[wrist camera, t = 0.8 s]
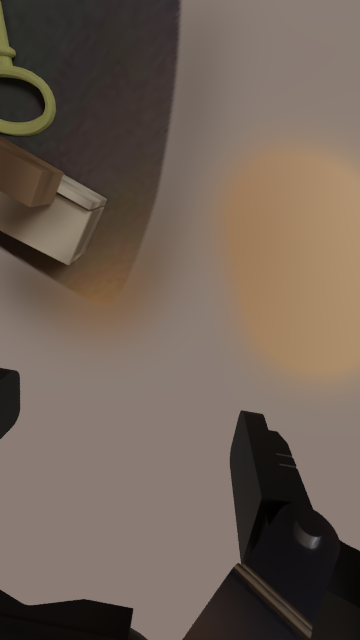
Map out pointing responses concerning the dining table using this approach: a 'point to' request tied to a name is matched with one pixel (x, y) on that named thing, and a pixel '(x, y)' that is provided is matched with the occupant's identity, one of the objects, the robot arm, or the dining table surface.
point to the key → (3, 67)
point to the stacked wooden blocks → (39, 180)
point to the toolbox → (50, 226)
